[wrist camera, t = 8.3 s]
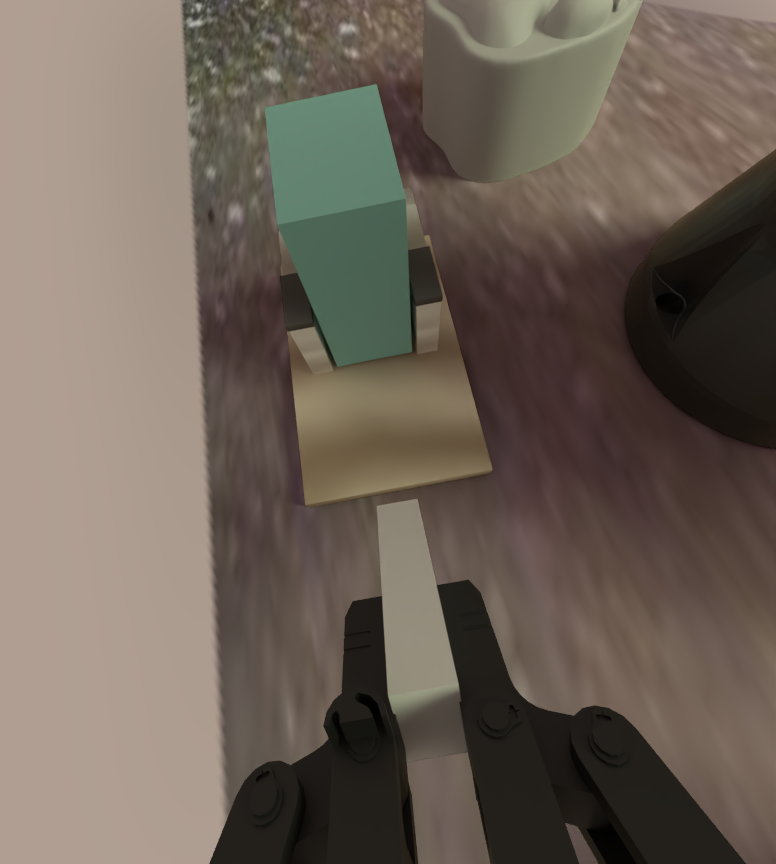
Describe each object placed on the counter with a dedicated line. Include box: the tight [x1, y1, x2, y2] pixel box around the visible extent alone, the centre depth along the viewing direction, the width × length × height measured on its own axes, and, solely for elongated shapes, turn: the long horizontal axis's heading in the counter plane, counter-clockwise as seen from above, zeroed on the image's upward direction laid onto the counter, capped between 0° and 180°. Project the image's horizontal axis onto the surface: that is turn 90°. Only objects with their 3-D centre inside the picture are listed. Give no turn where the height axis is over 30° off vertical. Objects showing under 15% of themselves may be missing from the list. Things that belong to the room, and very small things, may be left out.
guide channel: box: [278, 187, 493, 507], centre depth 21 cm, size 16×10×6 cm, turn 10°
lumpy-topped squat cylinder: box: [423, 0, 643, 183], centre depth 25 cm, size 10×13×9 cm
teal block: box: [265, 84, 412, 367], centre depth 19 cm, size 6×4×10 cm
